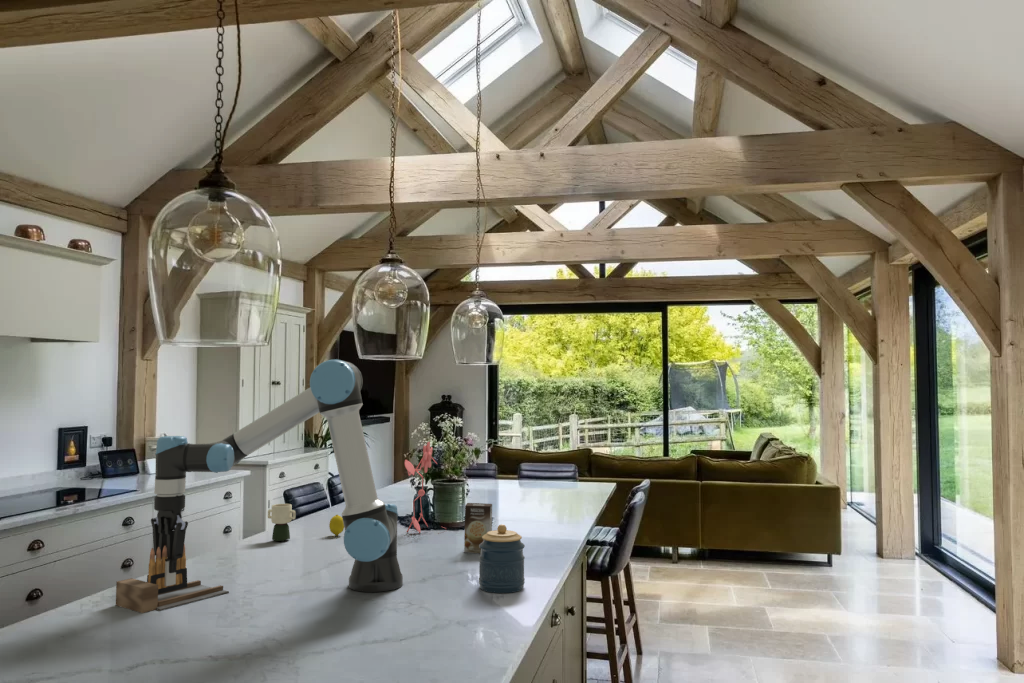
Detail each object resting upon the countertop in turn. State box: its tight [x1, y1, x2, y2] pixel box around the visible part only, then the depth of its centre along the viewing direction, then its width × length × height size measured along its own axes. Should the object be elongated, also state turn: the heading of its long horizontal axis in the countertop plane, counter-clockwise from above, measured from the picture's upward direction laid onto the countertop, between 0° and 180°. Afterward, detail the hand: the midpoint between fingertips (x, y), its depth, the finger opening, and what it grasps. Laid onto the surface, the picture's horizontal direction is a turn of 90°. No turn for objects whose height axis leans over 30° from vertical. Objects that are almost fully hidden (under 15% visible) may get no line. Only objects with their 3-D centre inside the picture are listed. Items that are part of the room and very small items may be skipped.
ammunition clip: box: [146, 543, 188, 594], centre depth 199 cm, size 11×2×12 cm, turn 147°
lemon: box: [328, 514, 345, 537], centre depth 285 cm, size 6×6×8 cm
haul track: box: [115, 577, 229, 614], centre depth 200 cm, size 16×24×6 cm
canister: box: [478, 523, 526, 594], centre depth 212 cm, size 13×13×18 cm
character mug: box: [267, 503, 297, 542], centre depth 275 cm, size 11×7×13 cm, turn 80°
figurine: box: [404, 441, 447, 535], centre depth 296 cm, size 15×26×35 cm, turn 168°
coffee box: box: [463, 502, 493, 554], centre depth 259 cm, size 9×6×16 cm
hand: (167, 584), depth 199 cm, fingers closed on ammunition clip, 2 cm apart
